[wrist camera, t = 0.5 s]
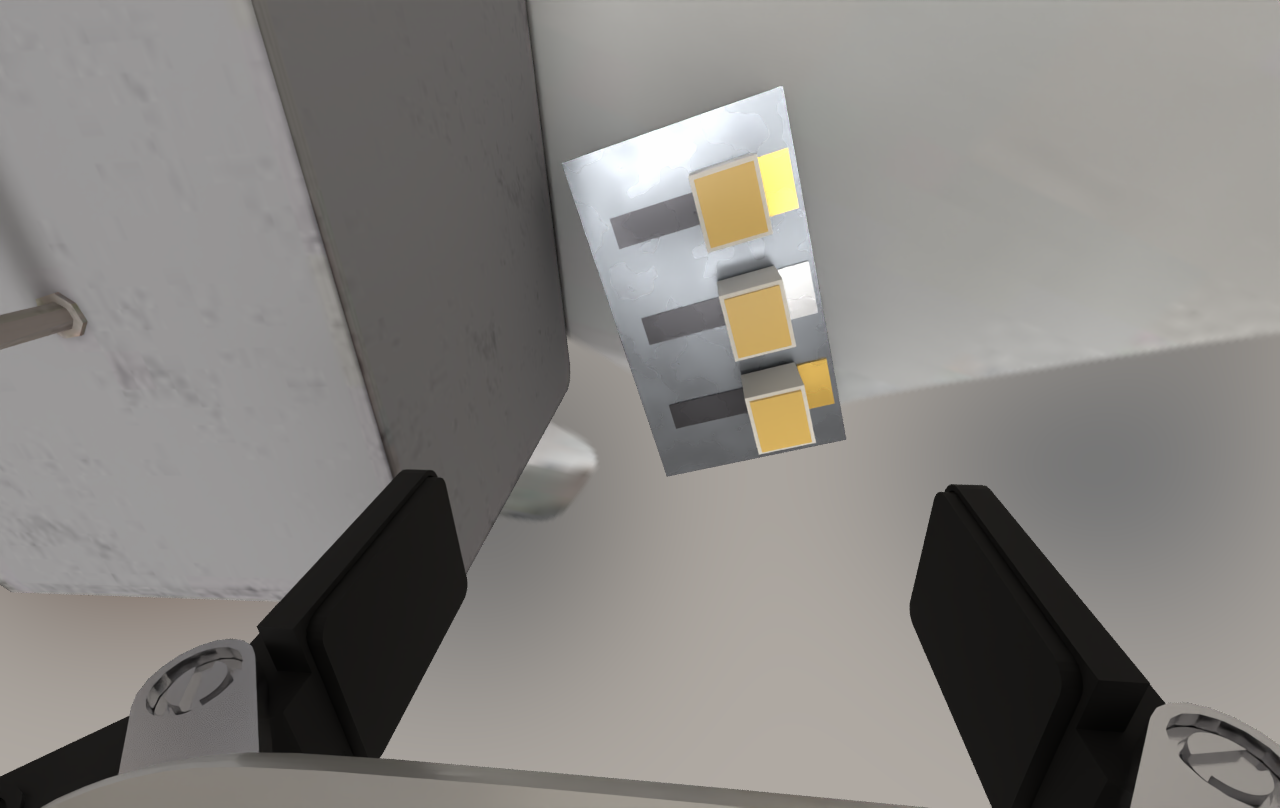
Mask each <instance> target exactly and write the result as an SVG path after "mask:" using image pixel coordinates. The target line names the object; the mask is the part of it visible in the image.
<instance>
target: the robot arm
mask: <svg viewBox="0 0 1280 808" xmlns="http://www.w3.org/2000/svg"><path fill="white" fill-rule="evenodd" d="M466 591H467V577H466V572H465V568H464V563H463V559H462V554H461V550H460V545H459V541H458V536H457V532H456V527H455V523H454V518H453V514H452V509H451V505H450V500H449V496H448V491H447V487H446V483H445V481H444V479H443V478H441V477H438V476H437V474H436V473H435V471H433V470H416V469H405V470H402V471H401V472H399V473H398V475H397V476H396V477H395V478H394V479H393V480H392V481H391V482H390V483H389V484H388V485H387V486H386V487H385V489H384V490H383V491H382V492H381V493H380V494H379V495H378V496H377V497H376V498H375V499H374V500H373V502H372V503H371V504H370V505H369V506H368V507H367V508H366V509H365V510H364V511H363V512H362V513H361V514H360V516H359V517H358V518H357V519H356V520H355V521H354V522H353V523H352V524H351V525H350V526H349V527H348V529H347V530H346V531H345V532H344V533H343V534H342V535H341V536H340V537H339V538H338V539H337V540H336V541H335V543H334V544H333V545H332V546H331V547H330V548H329V549H328V550H327V551H326V552H325V553H324V554H323V555H322V557H321V558H320V559H319V560H318V561H317V562H316V563H315V564H314V565H313V566H312V567H311V568H310V570H309V571H308V572H307V573H306V574H305V575H304V576H303V577H302V578H301V579H300V580H299V581H298V582H297V584H296V585H295V586H294V587H293V588H292V589H291V590H290V591H289V592H288V593H287V594H286V595H285V597H284V598H283V599H282V600H281V601H280V602H279V603H278V604H277V605H276V606H275V607H274V608H273V609H272V611H271V612H270V613H269V614H268V615H267V616H266V617H265V618H264V619H263V620H262V621H261V622H260V624H259V625H258V626H257V628H258V630H259V634H258V636H257V637H256V638H255V639H254V640H253V641H252V642H251V643H250V644H248V643H247V642H245V641H243V640H237V639H225V640H217V641H213V642H210V643H207V644H203V645H201V646H198V647H196V648H193V649H192V650H190V651H187V652H185V653H183V654H181V655H179V656H178V657H176V658H175V659H173V660H172V661H170V662H169V663H167V664H166V665H164V666H163V667H162V668H160V669H159V670H158V671H157V672H156V673H155V674H154V675H152V676H151V677H150V678H149V679H148V680H147V681H146V683H145V684H144V685H143V686H142V688H141V689H140V690H139V692H138V693H137V695H136V697H135V699H134V702H133V704H132V707H131V711H130V716H128V717H126V718H124V719H121V720H120V721H117V722H115V723H113V724H111V725H109V726H107V727H104V728H102V729H100V730H98V731H96V732H94V733H92V734H90V735H87V736H85V737H83V738H81V739H79V740H77V741H75V742H73V743H70V744H68V745H66V746H64V747H62V748H60V749H58V750H56V751H54V752H51V753H49V754H47V755H45V756H43V757H41V758H39V759H37V760H34V761H32V762H30V763H28V764H26V765H24V766H22V767H20V768H17V769H16V770H13V771H11V772H9V773H7V774H5V775H3V776H0V808H926V807H915V806H905V805H894V804H884V803H874V802H863V801H853V800H841V799H832V798H821V797H811V796H801V795H790V794H779V793H769V792H759V791H749V790H738V789H737V790H736V789H727V788H715V787H704V786H693V785H682V784H672V783H661V782H650V781H639V780H627V779H616V778H605V777H594V776H582V775H570V774H559V773H549V772H537V771H525V770H513V769H502V768H489V767H478V766H466V765H454V764H442V763H430V762H419V761H405V760H395V759H381V758H380V757H381V755H382V754H383V752H384V750H385V748H386V746H387V745H388V742H389V741H390V739H391V737H392V735H393V733H394V731H395V729H396V727H397V726H398V724H399V722H400V720H401V718H402V716H403V714H404V712H405V710H406V708H407V706H408V704H409V703H410V701H411V699H412V697H413V695H414V693H415V691H416V690H417V687H418V685H419V684H420V682H421V680H422V678H423V676H424V674H425V672H426V671H427V668H428V667H429V665H430V663H431V661H432V659H433V657H434V655H435V653H436V652H437V649H438V648H439V646H440V644H441V642H442V640H443V638H444V636H445V634H446V633H447V631H448V629H449V627H450V625H451V623H452V621H453V619H454V617H455V616H456V614H457V612H458V610H459V608H460V606H461V604H462V602H463V600H464V598H465V595H466ZM910 616H911V620H912V623H913V626H914V628H915V630H916V633H917V635H918V638H919V640H920V642H921V645H922V647H923V649H924V652H925V654H926V656H927V658H928V661H929V663H930V665H931V668H932V670H933V672H934V675H935V677H936V679H937V681H938V684H939V686H940V688H941V691H942V693H943V695H944V698H945V700H946V702H947V704H948V707H949V709H950V711H951V714H952V716H953V718H954V721H955V723H956V725H957V728H958V730H959V732H960V735H961V737H962V739H963V741H964V744H965V746H966V749H967V751H968V753H969V756H970V758H971V760H972V762H973V765H974V767H975V769H976V772H977V774H978V776H979V778H980V781H981V783H982V786H983V788H984V790H985V793H986V795H987V797H988V799H989V802H990V804H991V806H992V808H1280V745H1278V744H1277V743H1276V742H1274V741H1273V740H1271V739H1270V738H1268V737H1267V736H1266V735H1265V734H1263V733H1262V732H1260V731H1258V730H1257V729H1255V728H1253V727H1251V726H1249V725H1248V724H1246V723H1244V722H1242V721H1240V720H1238V719H1237V718H1235V717H1232V716H1230V715H1227V714H1225V713H1222V712H1220V711H1217V710H1215V709H1212V708H1209V707H1204V706H1200V705H1196V704H1192V703H1167V704H1165V702H1164V701H1163V700H1162V699H1161V698H1160V696H1159V695H1158V694H1157V693H1156V692H1155V690H1154V689H1153V688H1152V687H1151V685H1150V683H1149V682H1148V680H1147V679H1146V678H1145V677H1144V675H1143V674H1142V673H1141V672H1140V671H1139V669H1138V668H1137V667H1136V666H1135V664H1134V663H1133V662H1132V661H1131V660H1130V658H1129V657H1128V656H1127V655H1126V654H1125V652H1124V651H1123V650H1122V649H1121V648H1120V646H1119V645H1118V644H1117V643H1116V641H1115V640H1114V639H1113V638H1112V637H1111V635H1110V634H1109V633H1108V632H1107V631H1106V630H1105V628H1104V627H1103V626H1102V624H1101V623H1100V622H1099V621H1098V620H1097V618H1096V617H1095V616H1094V615H1093V614H1092V612H1091V611H1090V610H1089V609H1088V608H1087V606H1086V605H1085V604H1084V603H1083V602H1082V600H1081V599H1080V598H1079V597H1078V595H1076V593H1075V592H1074V591H1073V589H1072V588H1071V587H1070V586H1069V584H1068V583H1067V582H1066V581H1065V580H1064V578H1063V577H1062V576H1061V575H1060V574H1059V572H1058V571H1057V570H1056V569H1055V567H1054V566H1053V565H1052V564H1051V563H1050V561H1049V560H1048V559H1047V558H1046V557H1045V555H1044V554H1043V553H1042V552H1041V551H1040V549H1039V548H1038V547H1037V546H1036V544H1035V543H1034V542H1033V541H1032V540H1031V538H1030V537H1029V536H1028V535H1027V534H1026V533H1025V531H1024V530H1023V529H1022V527H1021V526H1020V525H1019V524H1018V523H1017V521H1016V520H1015V519H1014V518H1013V517H1012V516H1011V514H1010V513H1009V512H1008V510H1007V509H1006V508H1005V507H1004V506H1003V504H1002V503H1001V502H1000V501H999V500H998V498H997V497H996V496H995V495H994V494H993V492H992V491H991V490H990V489H989V488H988V487H987V486H983V485H954V484H951V485H949V486H948V487H947V488H946V489H945V492H939V493H937V494H936V496H935V498H934V502H933V507H932V511H931V515H930V519H929V523H928V528H927V532H926V536H925V540H924V545H923V549H922V554H921V558H920V562H919V566H918V570H917V575H916V579H915V583H914V587H913V592H912V596H911V600H910Z"/></svg>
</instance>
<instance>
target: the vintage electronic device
mask: <svg viewBox="0 0 1280 808" xmlns="http://www.w3.org/2000/svg"><path fill="white" fill-rule="evenodd" d="M569 381H570V362H569V353H568V345H567V337H566V329H565V321H564V313H563V304H562V296H561V288H560V280H559V272H558V263H557V255H556V247H555V239H554V231H553V223H552V214H551V206H550V198H549V190H548V182H547V173H546V165H545V157H544V149H543V141H542V133H541V124H540V116H539V108H538V100H537V92H536V83H535V75H534V67H533V59H532V51H531V43H530V34H529V26H528V18H527V10H526V2H525V0H0V585H1V586H3V587H5V588H6V589H7V590H9V591H10V592H22V593H50V594H51V593H53V594H80V595H107V596H136V597H165V598H194V599H222V600H249V601H278V602H280V601H281V600H282V599H283V598H284V597H285V595H286V594H287V593H288V592H289V591H290V590H291V589H292V588H293V587H294V586H295V585H296V584H297V582H298V581H299V580H300V579H301V578H302V577H303V576H304V575H305V574H306V573H307V572H308V571H309V570H310V568H311V567H312V566H313V565H314V564H315V563H316V562H317V561H318V560H319V559H320V558H321V557H322V555H323V554H324V553H325V552H326V551H327V550H328V549H329V548H330V547H331V546H332V545H333V544H334V543H335V541H336V540H337V539H338V538H339V537H340V536H341V535H342V534H343V533H344V532H345V531H346V530H347V529H348V527H349V526H350V525H351V524H352V523H353V522H354V521H355V520H356V519H357V518H358V517H359V516H360V514H361V513H362V512H363V511H364V510H365V509H366V508H367V507H368V506H369V505H370V504H371V503H372V502H373V500H374V499H375V498H376V497H377V496H378V495H379V494H380V493H381V492H382V491H383V490H384V489H385V487H386V486H387V485H388V484H389V483H390V482H391V481H392V480H393V479H394V478H395V477H396V476H397V475H398V473H399V472H401V471H402V470H405V469H416V470H433V471H435V473H436V474H437V476H438V477H441V478H443V479H444V481H445V483H446V487H447V491H448V496H449V500H450V505H451V509H452V514H453V518H454V523H455V527H456V532H457V536H458V541H459V545H460V550H461V554H462V559H463V563H464V568H465V572H466V574H467V572H468V570H469V568H470V566H471V565H472V563H473V561H474V559H475V557H476V556H477V554H478V552H479V550H480V548H481V547H482V545H483V542H484V541H485V539H486V537H487V536H488V534H489V532H490V530H491V528H492V527H493V525H494V523H495V521H496V519H497V517H498V516H499V514H500V512H501V510H502V508H503V506H504V505H505V503H506V501H507V499H508V497H509V496H510V494H511V492H512V490H513V488H514V486H515V485H516V483H517V481H518V479H519V477H520V475H521V474H522V472H523V470H524V468H525V466H526V465H527V463H528V461H529V459H530V457H531V455H532V454H533V452H534V450H535V448H536V446H537V445H538V443H539V441H540V439H541V437H542V435H543V434H544V432H545V430H546V428H547V426H548V424H549V423H550V421H551V419H552V417H553V415H554V414H555V412H556V410H557V408H558V406H559V404H560V403H561V401H562V399H563V397H564V395H565V393H566V392H567V390H568V386H569Z"/></svg>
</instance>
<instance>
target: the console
mask: <svg viewBox="0 0 1280 808" xmlns="http://www.w3.org/2000/svg"><path fill="white" fill-rule="evenodd" d="M749 153H754V154H757V157H758V162H759V167H760V172H761V177H762V181H763V186H764V191H765V196H766V201H767V206H768V211H769V216H770V221H771V225H772V230H773V234H771V235H768V236H764V237H761V238H758V239H754V240H751V241H747V242H744V243H741V244H737V245H734V246H730V247H727V248H724V249H720V250H717V251H713V252H710V253H707V249H706V245H705V241H704V237H703V233H702V229H701V225H700V221H699V217H698V213H697V209H696V205H695V201H694V197H693V194H692V190H691V186H690V182H689V178H688V176H689V173H691V172H694V171H697V170H700V169H703V168H706V167H709V166H712V165H715V164H719V163H722V162H725V161H728V160H731V159H734V158H737V157H740V156H743V155H746V154H749ZM562 166H563V169H564V172H565V175H566V178H567V181H568V184H569V187H570V190H571V193H572V196H573V199H574V202H575V205H576V208H577V211H578V214H579V217H580V220H581V223H582V226H583V229H584V232H585V235H586V238H587V241H588V244H589V247H590V250H591V252H592V255H593V258H594V261H595V264H596V267H597V270H598V273H599V276H600V279H601V282H602V285H603V288H604V291H605V294H606V297H607V300H608V303H609V306H610V309H611V312H612V315H613V318H614V321H615V324H616V327H617V330H618V333H619V336H620V339H621V342H622V344H623V347H624V350H625V353H626V356H627V359H628V362H629V365H630V368H631V371H632V374H633V377H634V380H635V383H636V386H637V389H638V392H639V395H640V398H641V400H642V404H643V407H644V410H645V413H646V416H647V419H648V422H649V425H650V428H651V430H652V434H653V436H654V439H655V442H656V445H657V448H658V451H659V454H660V457H661V460H662V463H663V466H664V469H665V472H666V475H667V476H672V475H677V474H682V473H687V472H692V471H696V470H701V469H706V468H711V467H716V466H720V465H725V464H730V463H735V462H740V461H745V460H750V459H754V458H759V457H764V456H769V455H774V454H779V453H783V452H788V451H793V450H797V449H802V448H807V447H812V446H817V445H822V444H827V443H832V442H836V441H841V440H846V436H845V430H844V424H843V419H842V413H841V407H840V402H839V396H838V391H837V385H836V380H835V374H834V368H833V363H832V357H831V352H830V346H829V340H828V335H827V329H826V324H825V318H824V313H823V307H822V301H821V296H820V290H819V285H818V279H817V274H816V268H815V262H814V257H813V251H812V246H811V240H810V234H809V229H808V223H807V218H806V212H805V207H804V201H803V195H802V190H801V184H800V179H799V173H798V168H797V162H796V156H795V151H794V145H793V140H792V134H791V128H790V123H789V117H788V112H787V106H786V101H785V95H784V89H783V86H780V87H777V88H774V89H771V90H769V91H766V92H763V93H760V94H757V95H754V96H751V97H749V98H746V99H743V100H740V101H737V102H734V103H732V104H729V105H726V106H723V107H720V108H717V109H714V110H712V111H709V112H706V113H703V114H700V115H697V116H695V117H692V118H689V119H686V120H683V121H680V122H677V123H675V124H672V125H669V126H666V127H663V128H660V129H658V130H655V131H652V132H649V133H646V134H643V135H640V136H638V137H635V138H632V139H629V140H626V141H623V142H621V143H618V144H615V145H612V146H609V147H606V148H603V149H601V150H598V151H595V152H592V153H589V154H586V155H584V156H581V157H578V158H575V159H572V160H569V161H566V162H564V163H562ZM770 266H775V267H776V269H777V271H778V272H779V274H780V276H781V277H782V279H783V284H784V289H785V294H786V299H787V304H788V308H789V313H790V318H791V323H792V328H793V333H794V338H795V343H796V347H793V348H789V349H785V350H781V351H777V352H772V353H768V354H764V355H760V356H756V357H752V358H748V359H744V360H740V361H736V362H735V359H734V355H733V351H732V347H731V343H730V339H729V335H728V331H727V327H726V323H725V319H724V315H723V312H722V308H721V304H720V300H719V295H718V285H717V281H720V280H724V279H727V278H731V277H735V276H738V275H742V274H745V273H749V272H752V271H756V270H759V269H763V268H767V267H770ZM793 362H795V365H796V367H797V369H798V372H799V374H800V376H801V379H802V381H803V383H804V387H805V392H806V396H807V401H808V406H809V411H810V416H811V421H812V426H813V431H814V436H815V440H816V443H812V444H808V445H803V446H798V447H793V448H788V449H784V450H779V451H774V452H769V453H764V454H760V455H759V453H758V449H757V445H756V441H755V437H754V433H753V430H752V426H751V422H750V418H749V414H748V410H747V406H746V402H745V398H744V392H743V386H742V380H741V375H743V374H747V373H751V372H756V371H760V370H764V369H768V368H772V367H776V366H780V365H785V364H789V363H793Z"/></svg>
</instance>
